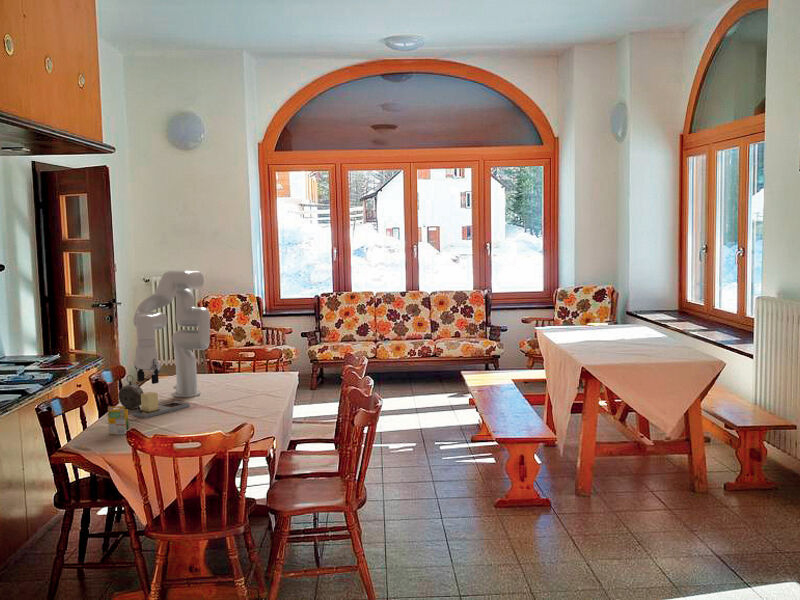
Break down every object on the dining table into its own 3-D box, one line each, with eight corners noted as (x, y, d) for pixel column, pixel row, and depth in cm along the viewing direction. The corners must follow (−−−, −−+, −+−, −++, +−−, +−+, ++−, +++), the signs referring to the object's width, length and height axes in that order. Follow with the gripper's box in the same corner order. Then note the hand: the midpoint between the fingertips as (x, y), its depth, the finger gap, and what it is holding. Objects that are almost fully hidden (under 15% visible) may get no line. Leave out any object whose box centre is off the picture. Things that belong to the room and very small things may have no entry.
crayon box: (129, 432, 345) (128, 404, 344) (126, 434, 342) (125, 406, 341) (111, 432, 346) (110, 404, 345) (108, 434, 343) (107, 406, 342)
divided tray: (132, 417, 370) (132, 411, 369) (176, 406, 389) (176, 400, 389) (145, 420, 364) (145, 414, 364) (189, 408, 383) (189, 403, 383)
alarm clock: (145, 410, 383) (143, 374, 381) (138, 413, 378) (136, 377, 376) (124, 408, 386) (123, 373, 384) (117, 411, 381) (115, 375, 379)
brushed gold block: (141, 414, 371) (140, 393, 370) (151, 411, 375) (150, 391, 374) (149, 415, 368) (148, 395, 367) (158, 413, 372) (157, 393, 371)
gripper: (126, 342, 370) (128, 381, 372) (151, 345, 360) (153, 385, 361) (141, 340, 376) (142, 378, 378) (166, 343, 366) (167, 382, 367)
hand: (148, 382), depth 370 cm, fingers open, 9 cm apart
